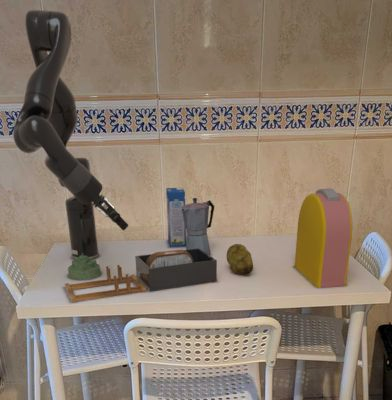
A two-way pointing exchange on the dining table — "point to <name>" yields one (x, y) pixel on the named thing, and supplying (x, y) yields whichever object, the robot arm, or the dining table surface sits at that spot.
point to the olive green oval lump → (239, 259)
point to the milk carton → (176, 217)
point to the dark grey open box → (177, 272)
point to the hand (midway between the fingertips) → (121, 224)
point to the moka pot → (197, 224)
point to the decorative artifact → (84, 268)
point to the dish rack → (108, 281)
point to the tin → (169, 258)
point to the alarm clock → (324, 238)
